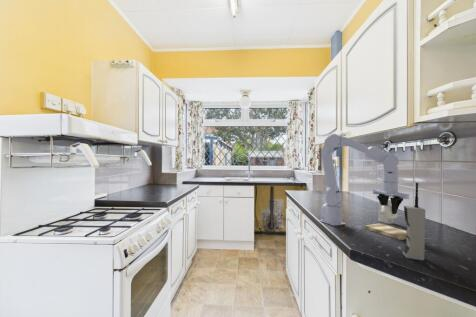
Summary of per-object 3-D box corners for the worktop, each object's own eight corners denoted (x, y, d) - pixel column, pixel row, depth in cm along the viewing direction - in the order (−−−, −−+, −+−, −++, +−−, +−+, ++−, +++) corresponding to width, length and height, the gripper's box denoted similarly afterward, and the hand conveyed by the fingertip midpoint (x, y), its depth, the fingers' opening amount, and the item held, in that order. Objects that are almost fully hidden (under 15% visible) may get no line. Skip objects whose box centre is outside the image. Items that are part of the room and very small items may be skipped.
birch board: (364, 228, 109) (364, 225, 109) (379, 226, 113) (379, 223, 113) (400, 240, 95) (400, 236, 95) (415, 237, 99) (415, 233, 99)
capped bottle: (377, 217, 103) (377, 205, 103) (390, 215, 107) (391, 204, 107) (385, 219, 100) (385, 207, 100) (399, 217, 104) (399, 205, 104)
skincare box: (377, 220, 124) (378, 197, 124) (384, 220, 125) (384, 197, 125) (388, 224, 118) (388, 199, 118) (394, 223, 119) (395, 199, 119)
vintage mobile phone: (402, 253, 81) (404, 181, 81) (420, 256, 79) (422, 182, 79) (405, 258, 78) (407, 182, 77) (424, 260, 76) (426, 183, 75)
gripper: (368, 180, 109) (368, 209, 109) (401, 184, 95) (401, 217, 96) (378, 180, 112) (378, 208, 112) (412, 183, 98) (411, 215, 99)
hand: (389, 212), depth 104 cm, fingers closed on capped bottle, 4 cm apart
